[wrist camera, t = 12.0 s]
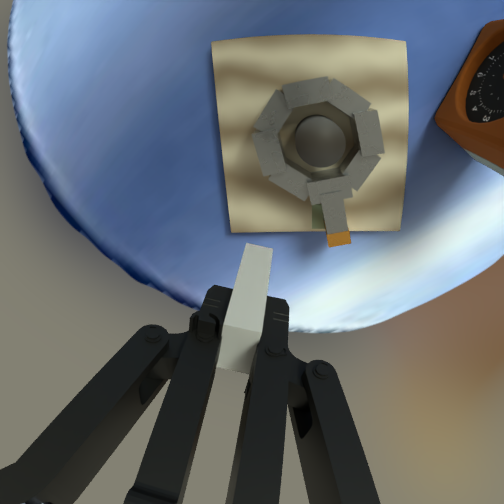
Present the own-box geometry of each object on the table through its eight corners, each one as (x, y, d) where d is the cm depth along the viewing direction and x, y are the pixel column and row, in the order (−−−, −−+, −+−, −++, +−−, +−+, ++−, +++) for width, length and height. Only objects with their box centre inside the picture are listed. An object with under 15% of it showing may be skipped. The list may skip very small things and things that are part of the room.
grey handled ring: (245, 94, 31) (239, 95, 28) (360, 71, 28) (368, 70, 25) (285, 239, 40) (284, 255, 36) (385, 220, 37) (394, 235, 33)
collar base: (214, 43, 30) (198, 35, 25) (401, 42, 27) (422, 36, 22) (233, 227, 42) (223, 251, 36) (396, 226, 39) (411, 249, 33)
